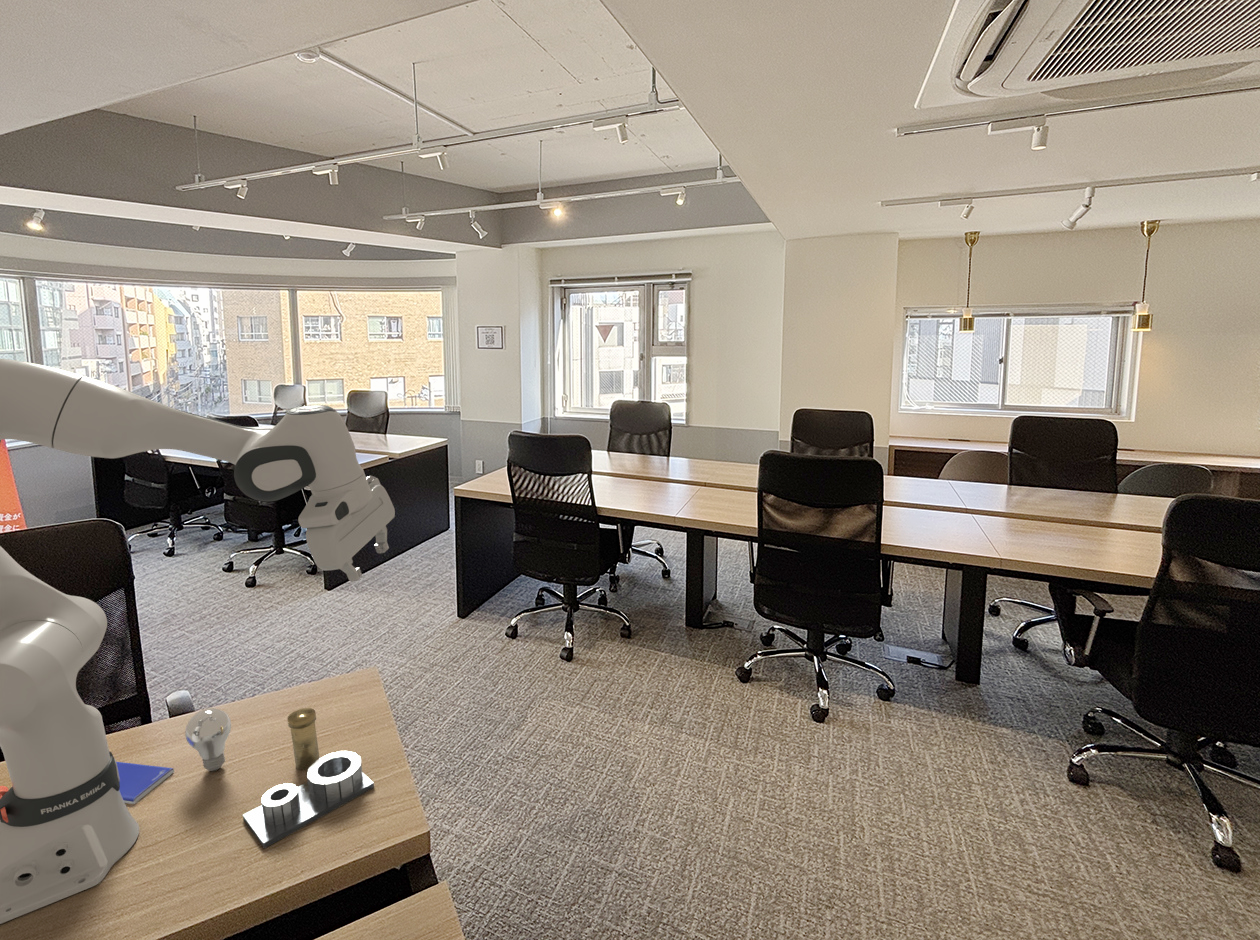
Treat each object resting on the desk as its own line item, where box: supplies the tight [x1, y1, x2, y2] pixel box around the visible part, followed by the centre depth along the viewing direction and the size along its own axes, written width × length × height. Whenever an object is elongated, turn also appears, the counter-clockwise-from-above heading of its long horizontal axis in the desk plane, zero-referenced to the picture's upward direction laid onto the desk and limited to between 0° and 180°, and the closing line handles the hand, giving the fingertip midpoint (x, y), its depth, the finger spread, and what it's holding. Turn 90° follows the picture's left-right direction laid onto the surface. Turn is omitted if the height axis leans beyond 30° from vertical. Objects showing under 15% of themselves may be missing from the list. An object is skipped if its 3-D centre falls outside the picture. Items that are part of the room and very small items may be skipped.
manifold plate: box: [242, 750, 375, 849], centre depth 109 cm, size 18×9×4 cm, turn 138°
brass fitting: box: [286, 707, 321, 771], centre depth 119 cm, size 5×5×10 cm
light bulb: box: [184, 707, 232, 772], centre depth 117 cm, size 7×7×12 cm
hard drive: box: [116, 761, 175, 805], centre depth 115 cm, size 2×8×12 cm
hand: (370, 564), depth 115 cm, fingers open, 8 cm apart
